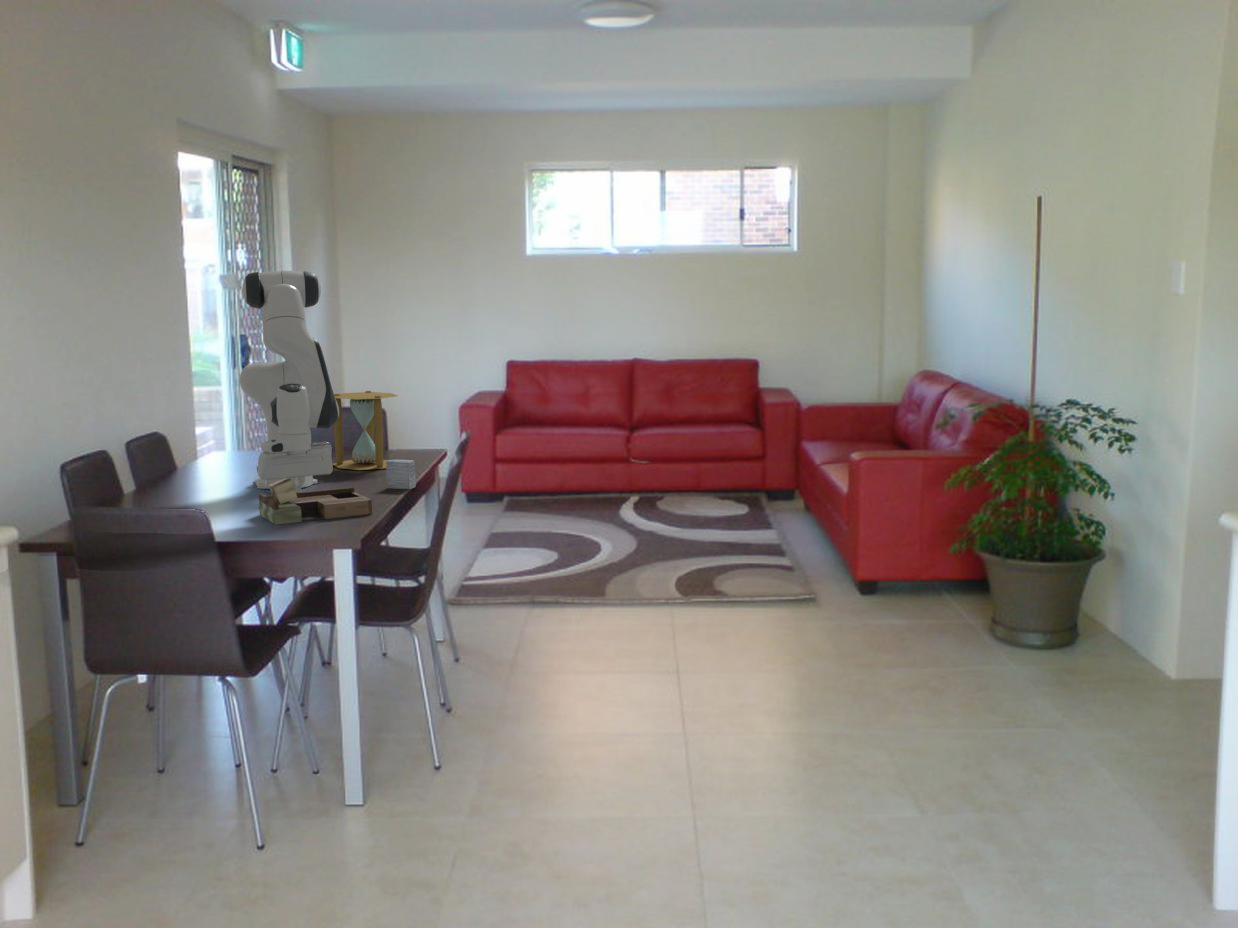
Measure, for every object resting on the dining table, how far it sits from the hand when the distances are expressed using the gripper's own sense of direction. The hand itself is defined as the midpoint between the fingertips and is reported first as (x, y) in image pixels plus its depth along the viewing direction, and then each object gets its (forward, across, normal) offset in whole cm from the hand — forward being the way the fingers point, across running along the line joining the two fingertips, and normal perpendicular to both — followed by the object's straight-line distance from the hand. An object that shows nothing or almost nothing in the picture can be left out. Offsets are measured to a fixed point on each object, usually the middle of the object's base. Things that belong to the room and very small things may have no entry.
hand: (297, 493), depth 328 cm
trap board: (+6, -5, +2) cm, 8 cm away
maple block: (+2, +3, 0) cm, 3 cm away
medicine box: (+6, -41, -23) cm, 47 cm away
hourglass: (+5, -48, -70) cm, 85 cm away
